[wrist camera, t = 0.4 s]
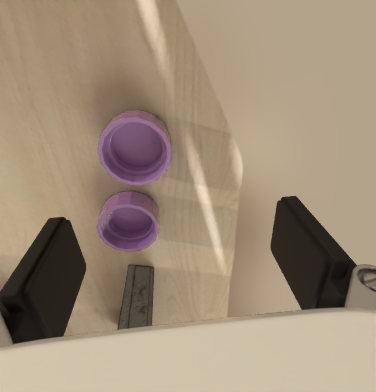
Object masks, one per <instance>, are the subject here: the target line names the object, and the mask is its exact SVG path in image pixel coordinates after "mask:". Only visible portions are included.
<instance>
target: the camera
mask: <svg viewBox="0 0 376 392" xmlns="http://www.w3.org/2000/svg"><path fill="white" fill-rule="evenodd" d="M153 285H154V268H153V267H143V266H134V265H129V266H128V272H127V278H126V284H125V289H124V295H123V301H122V307H121V313H120V318H119V324H118V330H120V329H129V328H138V327H146V326H152V310H153Z"/></svg>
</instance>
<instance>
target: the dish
mask: <svg viewBox="0 0 376 392" xmlns="http://www.w3.org/2000/svg"><path fill="white" fill-rule="evenodd" d="M97 229H98V233H99V236H100V238H101V239H102V240H103V241H104V242H105V243H106V244H107V245H109V246H110V247H112V248H114V249H116V250H120V251H125V252H132V251H140V250H142V249H145V248H147V247H149V246H150V245H151V244H152V243H153V242H154V241H155V240H156V238H157V236H158V233H159V210H158V207H157V206H156V204H155V203H154V201H153V200H152V199H150V198H149V197H147V196H146V195H144V194H142V193H138V192H134V191H127V192H120V193H117V194H115V195H113V196H111V197H110V198H109V199H108V200H107V201H106V202H105V203H104V205H103V208H102V211H101V214H100V217H99V220H98V224H97Z"/></svg>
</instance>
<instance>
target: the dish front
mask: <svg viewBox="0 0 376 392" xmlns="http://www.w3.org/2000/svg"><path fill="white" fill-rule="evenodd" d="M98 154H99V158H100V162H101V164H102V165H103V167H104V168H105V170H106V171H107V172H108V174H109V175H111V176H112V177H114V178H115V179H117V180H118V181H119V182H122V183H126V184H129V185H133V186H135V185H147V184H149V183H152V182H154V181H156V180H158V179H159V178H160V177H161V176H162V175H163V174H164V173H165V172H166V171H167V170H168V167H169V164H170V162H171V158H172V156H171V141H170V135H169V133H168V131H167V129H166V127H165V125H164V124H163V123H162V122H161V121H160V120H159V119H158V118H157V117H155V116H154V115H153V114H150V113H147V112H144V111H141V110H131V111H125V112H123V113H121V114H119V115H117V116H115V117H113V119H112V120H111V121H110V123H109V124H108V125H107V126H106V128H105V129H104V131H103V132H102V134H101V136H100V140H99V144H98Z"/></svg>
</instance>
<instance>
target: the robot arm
mask: <svg viewBox="0 0 376 392" xmlns="http://www.w3.org/2000/svg"><path fill="white" fill-rule="evenodd" d="M271 251H272V254H273V256H274V257H275V259H276V261H277V263H278V265H279V267H280V269H281V271H282V273H283V274H284V277H285V279H286V280H287V282H288V284H289V286H290V288H291V290H292V292H293V294H294V296H295V298H296V300H297V301H298V303H299V305H300V307H301V309H302V310H297V311H286V312H276V313H266V314H257V315H248V316H238V317H229V318H219V319H209V320H200V321H191V322H182V323H173V324H164V325H155V326H146V327H138V328H129V329H120V330H112V331H103V332H95V333H86V334H78V335H70V336H64V333H65V330H66V327H67V324H68V321H69V318H70V315H71V312H72V309H73V307H74V304H75V301H76V298H77V295H78V292H79V289H80V286H81V283H82V280H83V278H84V275H85V272H86V263H85V260H84V257H83V255H82V252H81V249H80V246H79V244H78V241H77V238H76V236H75V233H74V230H73V227H72V225H71V222H70V221H69V220H66V219H65V218H64V217H57V218H49V219H48V221H47V222H46V224H45V225H44V227H43V228H42V230H41V231H40V233H39V234H38V236H37V237H36V239H35V240H34V242H33V243H32V245H31V246H30V248H29V249H28V251H27V252H26V254H25V255H24V257H23V258H22V260H21V261H20V263H19V264H18V266H17V267H16V269H15V270H14V272H13V273H12V275H11V276H10V278H9V279H8V281H7V282H6V284H5V285H4V287H3V288H2V290H1V292H0V392H376V266H374V265H367V264H363V265H358V266H357V265H356V264H355V263H354V261H353V260H352V259H351V258H350V257H349V256H348V255H347V254H346V252H344V250H343V249H342V248H341V247H340V246H339V244H338V243H337V242H336V241H335V240H334V239H333V238H332V236H331V235H330V234H329V233H328V232H327V231H326V230H325V228H324V227H323V226H322V225H321V224H320V223H319V222H318V221H317V220H316V218H315V217H314V216H313V215H312V214H311V213H310V212H309V210H307V208H306V207H305V206H304V205H303V203H301V201H300V200H299V199H298V198H297V197H296V196H290V197H282V198H281V200H280V201H278V202H277V207H276V214H275V220H274V226H273V233H272V240H271Z"/></svg>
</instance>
